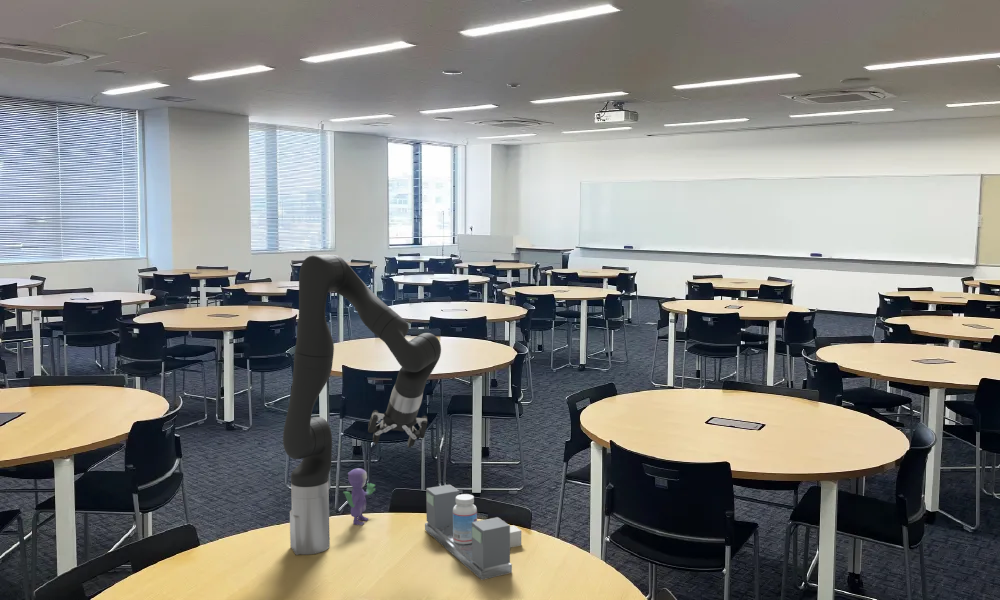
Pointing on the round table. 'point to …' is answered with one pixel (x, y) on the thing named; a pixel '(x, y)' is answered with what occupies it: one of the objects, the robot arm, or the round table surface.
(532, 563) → the round table surface
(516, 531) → the box
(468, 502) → the pill bottle
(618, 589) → the round table surface
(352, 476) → the toy
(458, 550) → the rail
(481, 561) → the modules
